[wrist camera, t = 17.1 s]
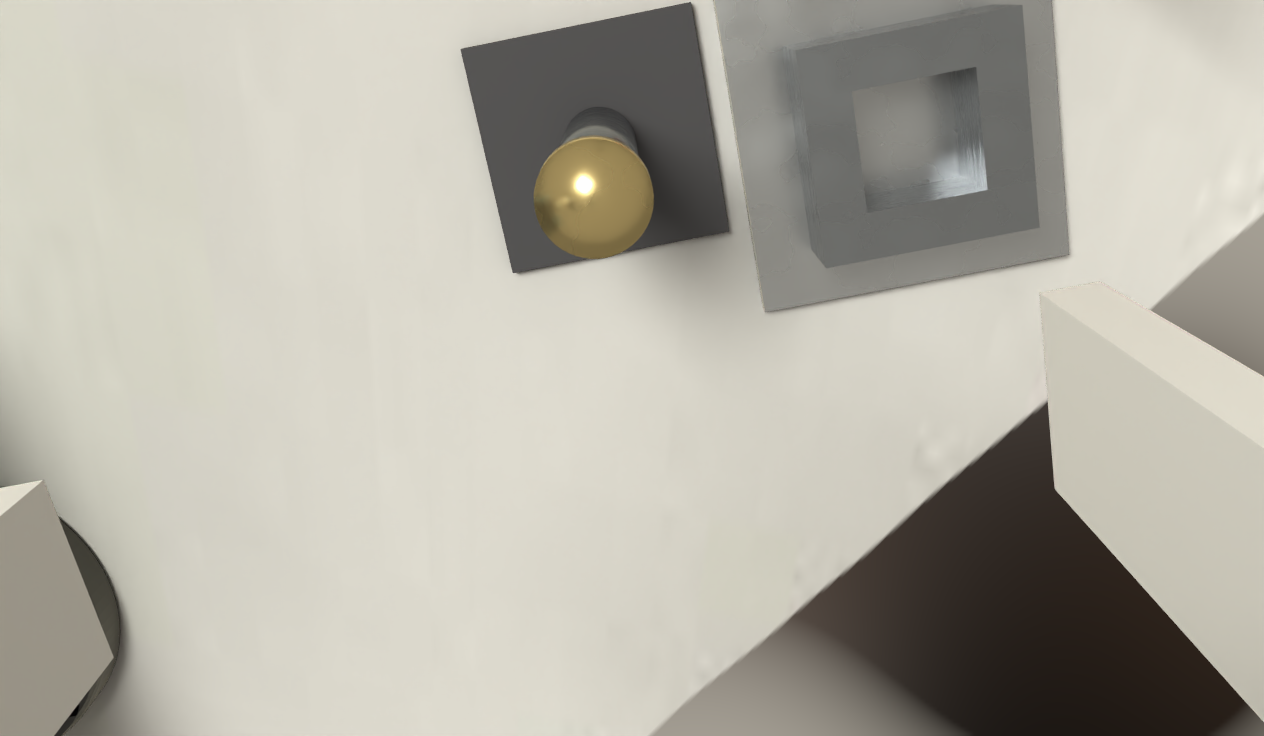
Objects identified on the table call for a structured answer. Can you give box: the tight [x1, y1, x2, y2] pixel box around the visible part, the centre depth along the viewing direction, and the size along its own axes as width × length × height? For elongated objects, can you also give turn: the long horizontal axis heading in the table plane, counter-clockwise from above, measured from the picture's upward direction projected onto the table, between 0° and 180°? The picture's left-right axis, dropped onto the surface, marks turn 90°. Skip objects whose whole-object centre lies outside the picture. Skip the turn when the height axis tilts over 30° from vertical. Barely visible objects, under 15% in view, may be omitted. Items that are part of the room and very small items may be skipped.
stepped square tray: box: [713, 0, 1069, 312], centre depth 47 cm, size 14×14×4 cm
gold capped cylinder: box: [534, 107, 654, 259], centre depth 42 cm, size 4×4×14 cm
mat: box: [461, 2, 729, 273], centre depth 49 cm, size 10×10×1 cm
